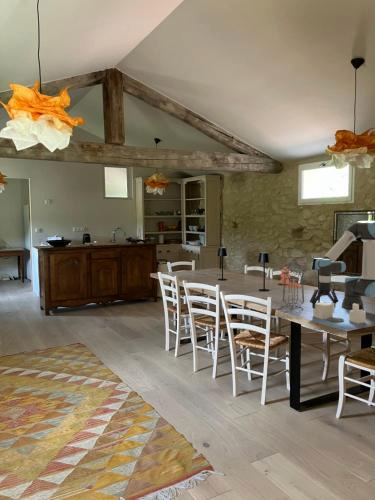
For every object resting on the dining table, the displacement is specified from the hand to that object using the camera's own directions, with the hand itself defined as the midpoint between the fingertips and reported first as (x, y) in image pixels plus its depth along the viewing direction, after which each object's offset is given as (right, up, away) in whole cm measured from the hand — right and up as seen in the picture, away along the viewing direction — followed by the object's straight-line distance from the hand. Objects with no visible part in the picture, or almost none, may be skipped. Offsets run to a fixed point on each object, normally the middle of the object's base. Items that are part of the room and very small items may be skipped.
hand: (323, 312), depth 265 cm
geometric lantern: (-12, -1, +31) cm, 34 cm away
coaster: (+5, -4, -8) cm, 10 cm away
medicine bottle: (+18, -4, -12) cm, 22 cm away
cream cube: (0, -3, +1) cm, 3 cm away
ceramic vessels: (+10, +5, +121) cm, 121 cm away
